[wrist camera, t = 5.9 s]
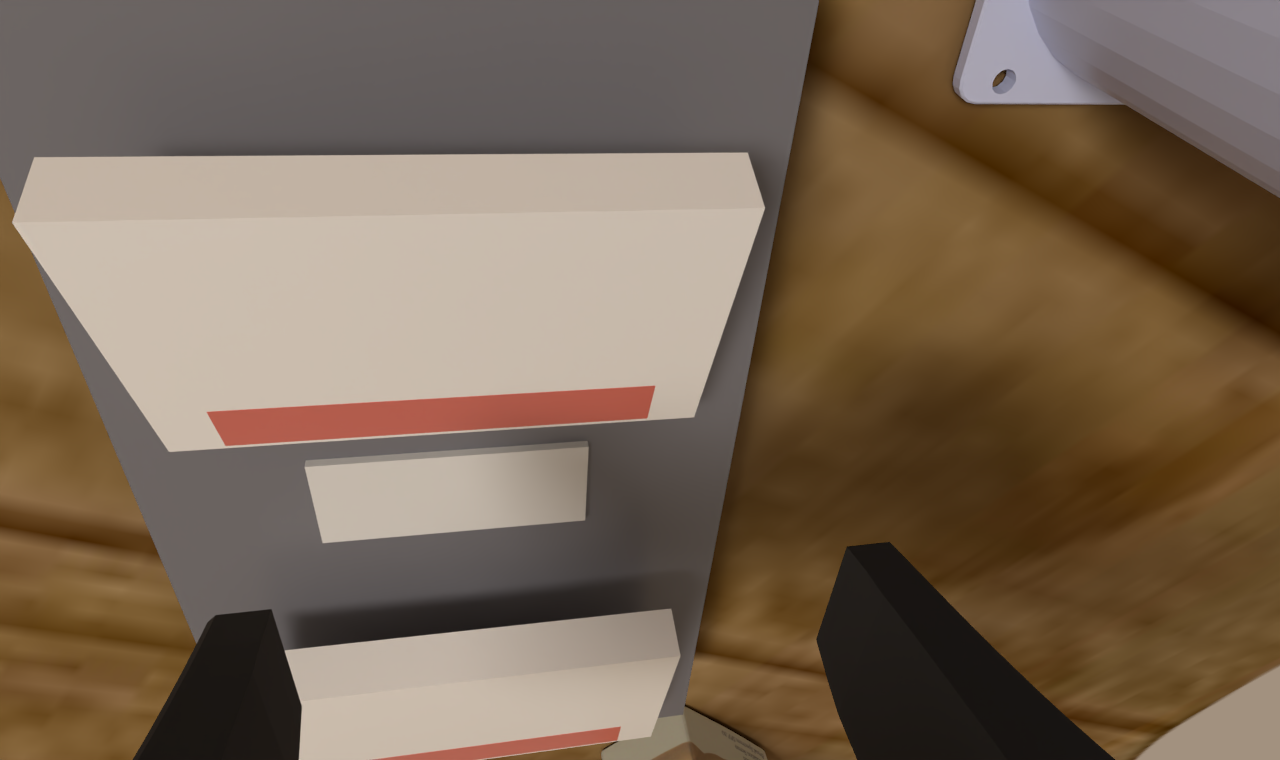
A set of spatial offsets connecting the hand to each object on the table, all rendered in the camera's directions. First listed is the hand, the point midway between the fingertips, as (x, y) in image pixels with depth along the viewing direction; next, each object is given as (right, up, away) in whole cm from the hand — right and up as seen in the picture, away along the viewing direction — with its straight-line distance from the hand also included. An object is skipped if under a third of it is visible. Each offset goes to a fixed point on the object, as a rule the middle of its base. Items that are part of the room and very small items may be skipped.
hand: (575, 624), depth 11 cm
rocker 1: (-3, +5, +4) cm, 7 cm away
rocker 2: (-4, -5, +11) cm, 13 cm away
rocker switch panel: (-4, +3, +11) cm, 12 cm away
